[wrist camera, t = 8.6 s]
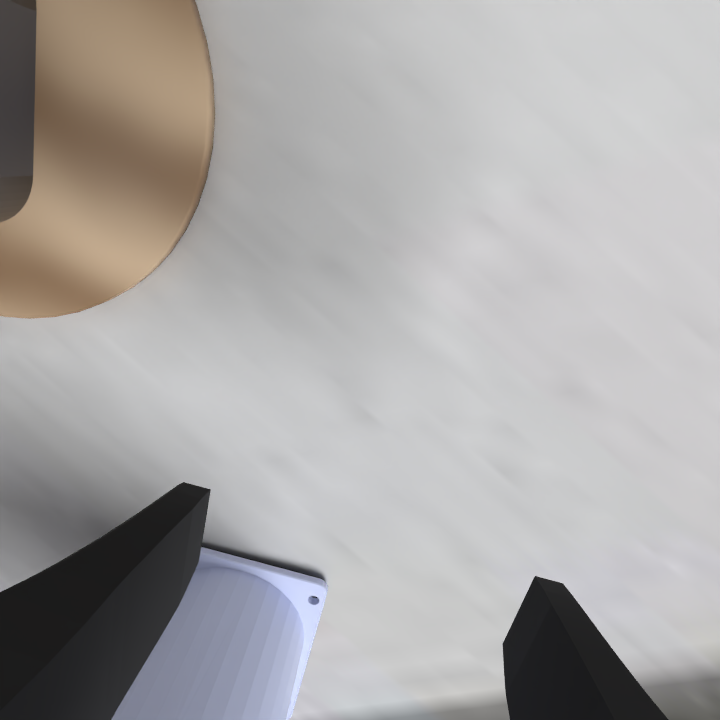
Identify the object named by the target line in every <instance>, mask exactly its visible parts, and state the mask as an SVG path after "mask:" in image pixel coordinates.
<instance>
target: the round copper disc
mask: <svg viewBox="0 0 720 720" xmlns="http://www.w3.org/2000/svg"><path fill="white" fill-rule="evenodd" d="M36 8H37V18H36V65H35V112H34V159H33V184H32V188H31V192H30V195H29V198H28V200H27V202H26V204H25V205H24V207H23V208H22V209H21V210H20V211H19V212H18V213H17V214H16V215H15V216H13V217H12V218H10V219H8V220H6V221H3V222H0V316H4V317H17V318H45V317H57V316H61V315H66V314H71V313H76V312H80V311H83V310H85V309H88V308H91V307H93V306H96V305H99V304H101V303H104V302H106V301H108V300H110V299H113V298H115V297H116V296H118V295H120V294H122V293H123V292H125V291H127V290H129V289H131V288H132V287H134V286H135V285H137V284H138V283H139V282H141V281H142V280H143V279H144V278H146V277H147V276H148V275H149V274H151V273H152V272H153V271H154V270H155V269H156V268H157V267H158V266H159V265H160V264H161V263H162V262H163V261H164V259H165V258H166V257H167V256H168V255H169V254H170V253H171V252H172V250H173V249H174V247H175V246H176V244H177V243H178V241H179V240H180V238H181V237H182V235H183V234H184V233H185V231H186V229H187V227H188V225H189V223H190V221H191V219H192V217H193V215H194V213H195V211H196V209H197V207H198V204H199V201H200V198H201V195H202V192H203V189H204V186H205V183H206V179H207V175H208V170H209V165H210V160H211V154H212V149H213V137H214V122H215V105H214V85H213V75H212V69H211V63H210V57H209V51H208V45H207V40H206V37H205V33H204V30H203V26H202V23H201V19H200V15H199V12H198V8H197V5H196V3H195V0H36Z"/></svg>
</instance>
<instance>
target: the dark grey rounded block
mask: <svg viewBox="0 0 720 720" xmlns="http://www.w3.org/2000/svg"><path fill="white" fill-rule="evenodd" d="M36 18H37V8H36V0H0V222H3V221H6V220H8V219H10V218H12V217H13V216H15V215H16V214H17V213H18V212H19V211H20V210H21V209H22V208H23V207H24V205H25V204H26V202H27V200H28V198H29V195H30V192H31V188H32V184H33V159H34V112H35V65H36Z"/></svg>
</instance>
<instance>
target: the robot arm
mask: <svg viewBox="0 0 720 720" xmlns="http://www.w3.org/2000/svg"><path fill="white" fill-rule="evenodd" d="M209 496H210V489H207V488H203V487H199V486H195V485H192V484H188V483H184V482H183V483H181V484H179V485H177V486H176V487H175V488H173V489H172V490H170V491H169V492H168V493H166V494H165V495H163V496H162V497H160V498H159V499H158V500H156V501H155V502H153V503H152V504H151V505H149V506H148V507H146V508H145V509H143V510H142V511H140V512H139V513H137V514H136V515H134V516H133V517H132V518H130V519H128V520H127V521H125V522H124V523H122V524H121V525H119V526H118V527H116V528H115V529H113V530H111V531H110V532H108V533H107V534H105V535H104V536H102V537H101V538H99V539H97V540H96V541H94V542H92V543H91V544H89V545H87V546H86V547H84V548H82V549H80V550H79V551H77V552H75V553H74V554H72V555H70V556H68V557H67V558H65V559H63V560H62V561H60V562H58V563H56V564H55V565H53V566H51V567H49V568H47V569H45V570H43V571H42V572H40V573H38V574H36V575H34V576H32V577H30V578H28V579H26V580H24V581H22V582H20V583H18V584H16V585H14V586H12V587H10V588H8V589H6V590H4V591H2V592H0V720H288V719H290V718H291V716H292V713H293V710H294V706H295V703H296V699H297V696H298V692H299V689H300V685H301V682H302V678H303V675H304V671H305V668H306V664H307V661H308V658H309V654H310V651H311V647H312V644H313V640H314V637H315V633H316V630H317V626H318V623H319V619H320V616H321V612H322V609H323V605H324V602H325V599H326V595H327V590H328V585H327V583H326V582H325V581H324V580H322V579H320V578H316V577H312V576H308V575H305V574H301V573H297V572H293V571H290V570H286V569H282V568H278V567H275V566H271V565H267V564H264V563H260V562H256V561H252V560H249V559H245V558H241V557H237V556H234V555H230V554H226V553H222V552H219V551H215V550H211V549H207V548H204V547H201V545H202V539H203V533H204V527H205V521H206V515H207V509H208V502H209ZM311 596H316V597H318V598H313V597H311ZM503 658H504V676H505V689H506V698H507V704H508V710H509V715H510V720H668V719H667V717H666V716H665V715H664V714H663V713H662V711H661V710H660V709H659V708H658V707H657V705H656V704H655V703H654V702H653V701H652V699H651V698H650V697H649V696H648V694H647V693H646V692H645V691H644V689H643V688H642V687H641V686H640V684H639V683H638V682H637V681H636V679H635V678H634V677H633V675H632V674H631V673H630V672H629V670H628V669H627V668H626V666H625V665H624V664H623V662H622V661H621V660H620V659H619V657H618V656H617V655H616V653H615V652H614V651H613V649H612V648H611V647H610V645H609V644H608V643H607V641H606V640H605V639H604V637H603V636H602V635H601V633H600V632H599V631H598V629H597V628H596V626H595V625H594V624H593V622H592V621H591V620H590V618H589V617H588V616H587V614H586V613H585V612H584V610H583V609H582V608H581V606H580V605H579V604H578V602H577V601H576V600H575V598H574V597H573V596H572V594H571V593H570V592H569V591H568V589H567V588H566V587H565V586H564V584H563V583H559V582H555V581H552V580H548V579H544V578H540V577H537V576H535V577H534V579H533V581H532V584H531V586H530V588H529V590H528V592H527V594H526V596H525V598H524V600H523V602H522V605H521V607H520V609H519V611H518V613H517V615H516V617H515V619H514V621H513V623H512V625H511V628H510V630H509V632H508V634H507V636H506V638H505V640H504V642H503Z"/></svg>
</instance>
